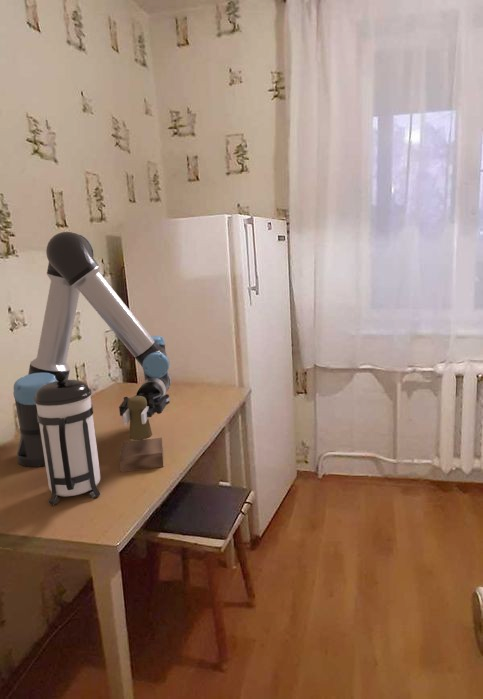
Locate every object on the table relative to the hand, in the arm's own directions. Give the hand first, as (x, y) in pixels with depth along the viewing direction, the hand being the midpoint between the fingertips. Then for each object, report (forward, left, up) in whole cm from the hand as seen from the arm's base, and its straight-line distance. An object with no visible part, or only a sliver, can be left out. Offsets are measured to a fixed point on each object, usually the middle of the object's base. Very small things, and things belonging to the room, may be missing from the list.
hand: (133, 419), depth 130 cm
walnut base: (+1, +5, -14) cm, 15 cm away
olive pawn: (+1, +5, -7) cm, 9 cm away
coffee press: (-14, -10, -14) cm, 22 cm away
